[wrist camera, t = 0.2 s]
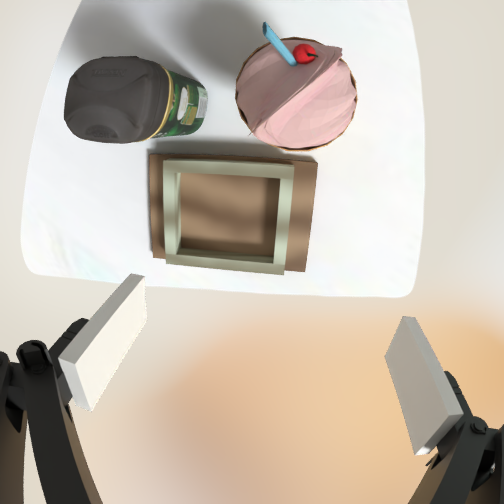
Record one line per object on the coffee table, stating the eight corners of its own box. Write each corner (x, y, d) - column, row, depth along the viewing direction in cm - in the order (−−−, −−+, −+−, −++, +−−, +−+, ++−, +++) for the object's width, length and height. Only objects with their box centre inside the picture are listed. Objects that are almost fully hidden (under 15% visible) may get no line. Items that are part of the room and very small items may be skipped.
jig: (152, 154, 40) (141, 156, 36) (317, 162, 38) (320, 165, 35) (155, 255, 45) (146, 264, 42) (304, 269, 44) (306, 280, 41)
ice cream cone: (231, 108, 37) (183, 92, 18) (286, 47, 33) (288, -21, 14) (297, 162, 38) (312, 195, 20) (352, 102, 35) (415, 82, 16)
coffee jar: (137, 131, 39) (50, 142, 21) (146, 76, 35) (62, 55, 18) (203, 140, 38) (143, 152, 21) (214, 82, 35) (161, 50, 18)
